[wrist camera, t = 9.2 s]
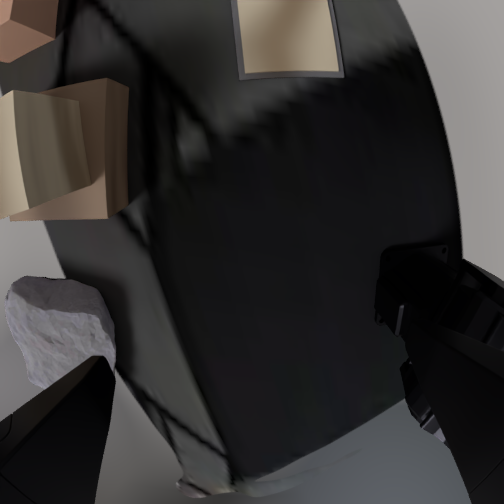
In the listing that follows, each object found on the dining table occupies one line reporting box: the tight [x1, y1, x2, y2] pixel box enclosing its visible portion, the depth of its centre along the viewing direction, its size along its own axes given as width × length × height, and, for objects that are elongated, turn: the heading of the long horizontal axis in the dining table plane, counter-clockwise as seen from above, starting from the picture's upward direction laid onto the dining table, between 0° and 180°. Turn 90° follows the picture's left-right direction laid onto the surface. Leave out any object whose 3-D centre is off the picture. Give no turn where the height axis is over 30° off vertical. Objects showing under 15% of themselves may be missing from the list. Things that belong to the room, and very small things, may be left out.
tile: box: [231, 0, 344, 81], centre depth 15 cm, size 7×7×1 cm
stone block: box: [5, 276, 116, 389], centre depth 22 cm, size 12×5×10 cm
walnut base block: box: [10, 78, 129, 221], centre depth 16 cm, size 8×8×4 cm
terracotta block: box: [0, 0, 59, 63], centre depth 10 cm, size 5×5×6 cm
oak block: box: [0, 90, 92, 219], centre depth 11 cm, size 5×5×6 cm
